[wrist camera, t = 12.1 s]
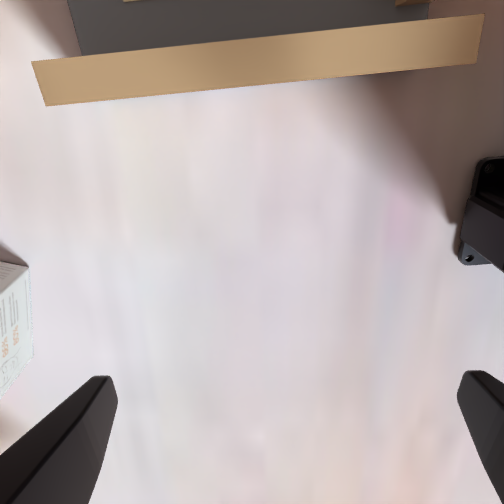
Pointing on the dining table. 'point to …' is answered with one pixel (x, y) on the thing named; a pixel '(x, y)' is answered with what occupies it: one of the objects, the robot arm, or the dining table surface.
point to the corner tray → (246, 44)
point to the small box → (14, 323)
